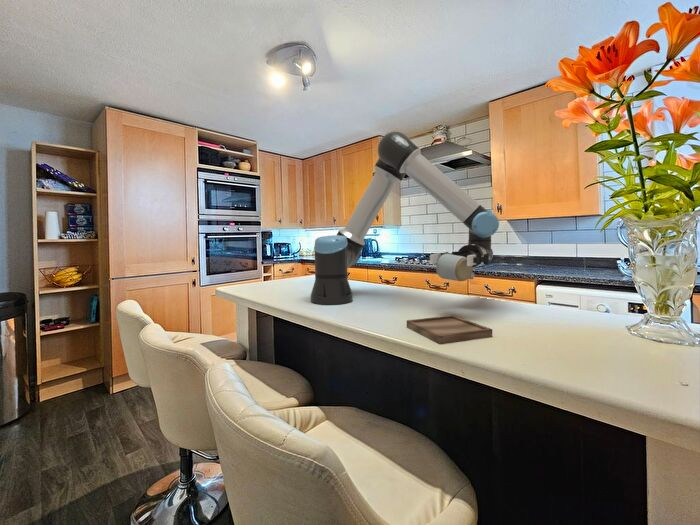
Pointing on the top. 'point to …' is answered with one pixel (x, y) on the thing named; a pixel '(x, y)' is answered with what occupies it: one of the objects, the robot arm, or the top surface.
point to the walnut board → (448, 329)
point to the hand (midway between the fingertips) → (449, 260)
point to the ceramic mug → (454, 268)
